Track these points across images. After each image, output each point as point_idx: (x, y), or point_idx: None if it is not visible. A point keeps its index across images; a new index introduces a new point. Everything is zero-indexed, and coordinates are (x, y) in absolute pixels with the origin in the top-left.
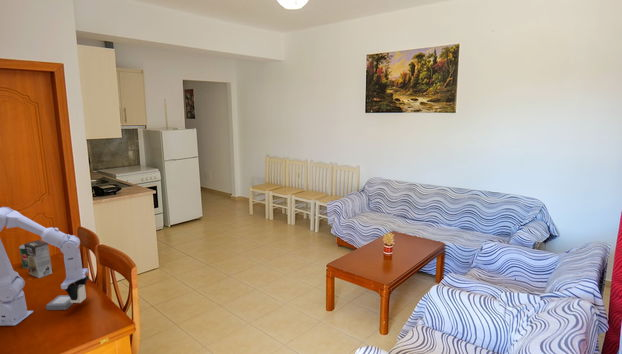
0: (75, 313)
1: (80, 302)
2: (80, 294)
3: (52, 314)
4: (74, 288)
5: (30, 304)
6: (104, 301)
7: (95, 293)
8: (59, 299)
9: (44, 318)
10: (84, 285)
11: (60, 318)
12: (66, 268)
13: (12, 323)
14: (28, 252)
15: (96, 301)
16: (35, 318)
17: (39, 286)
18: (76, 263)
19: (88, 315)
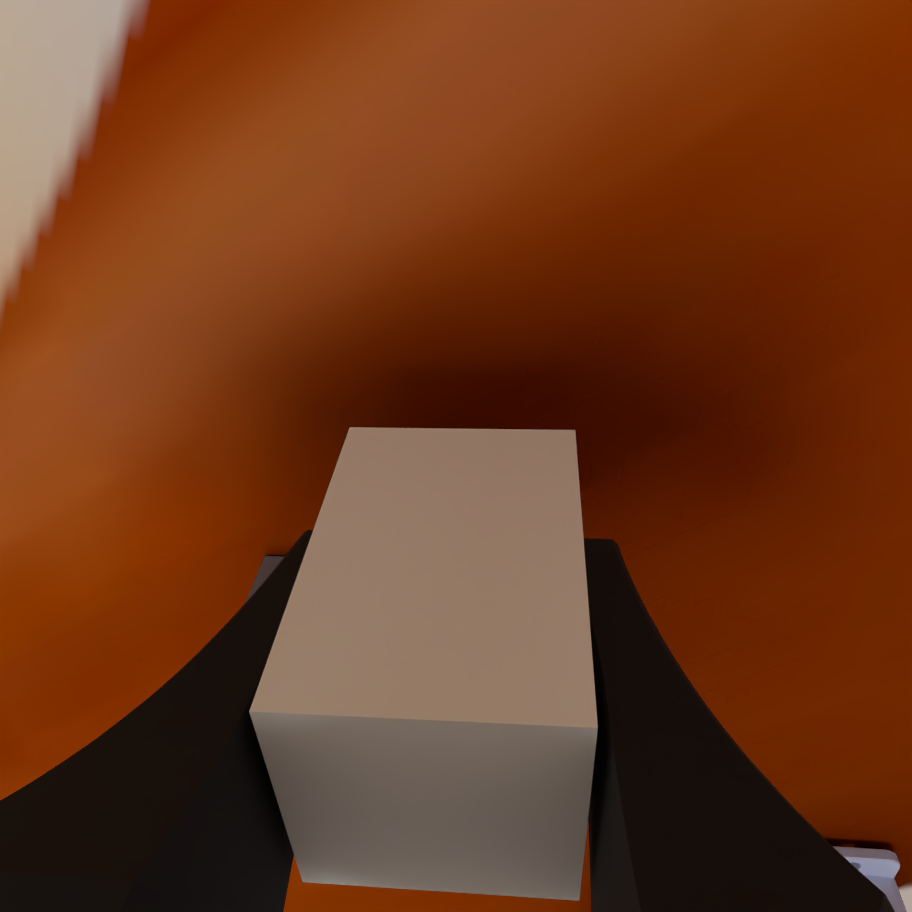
0: (720, 371)
1: (567, 433)
2: (527, 559)
3: (692, 657)
4: (862, 891)
5: (442, 894)
6: (221, 11)
7: (11, 406)
8: None
9: (789, 690)
10: (263, 684)
11: (850, 514)
12: None
13: (895, 890)
14: None
15: (259, 218)
16: (763, 764)
17: None
18: None
19: (880, 28)
